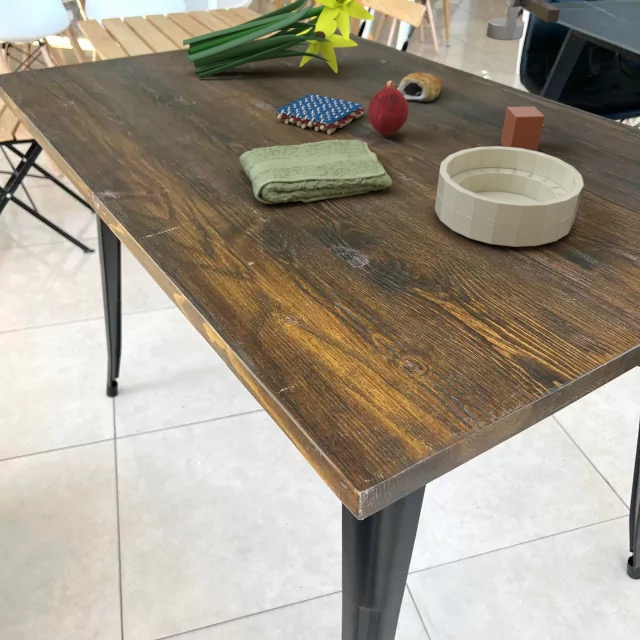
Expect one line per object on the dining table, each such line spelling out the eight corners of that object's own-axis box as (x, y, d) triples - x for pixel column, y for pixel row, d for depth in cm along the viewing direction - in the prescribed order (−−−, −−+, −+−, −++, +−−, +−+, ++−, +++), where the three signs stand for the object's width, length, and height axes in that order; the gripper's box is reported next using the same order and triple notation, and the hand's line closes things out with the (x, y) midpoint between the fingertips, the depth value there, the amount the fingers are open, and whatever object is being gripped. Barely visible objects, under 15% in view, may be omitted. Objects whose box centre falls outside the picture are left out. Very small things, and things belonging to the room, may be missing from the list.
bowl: (541, 185, 83) (551, 144, 79) (594, 248, 70) (608, 202, 67) (421, 190, 81) (426, 148, 78) (454, 254, 69) (461, 208, 66)
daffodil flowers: (201, 62, 129) (372, 10, 125) (211, 121, 124) (389, 69, 120) (167, -5, 114) (360, -67, 110) (176, 60, 108) (379, -3, 104)
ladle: (481, 32, 98) (488, -17, 94) (515, 31, 98) (523, -18, 94) (524, 67, 83) (534, 10, 79) (563, 65, 83) (575, 9, 79)
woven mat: (331, 136, 96) (331, 123, 94) (273, 122, 100) (273, 109, 99) (366, 116, 103) (367, 103, 101) (311, 103, 107) (310, 91, 106)
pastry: (414, 84, 116) (416, 61, 113) (450, 90, 113) (453, 67, 111) (393, 99, 109) (395, 75, 107) (430, 106, 107) (433, 82, 104)
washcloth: (396, 193, 81) (398, 168, 79) (257, 211, 77) (256, 186, 75) (361, 153, 91) (362, 130, 89) (237, 167, 87) (235, 144, 85)
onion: (408, 144, 93) (413, 87, 89) (368, 143, 93) (371, 87, 89) (403, 129, 98) (408, 75, 93) (365, 129, 98) (368, 75, 93)
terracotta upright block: (526, 142, 94) (534, 106, 91) (536, 153, 91) (544, 116, 88) (500, 143, 94) (506, 106, 91) (509, 154, 91) (516, 116, 88)
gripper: (467, -113, 77) (454, 13, 85) (633, -116, 78) (604, 8, 87) (453, -116, 82) (442, 3, 90) (609, -119, 83) (584, -1, 92)
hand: (523, 6), depth 88 cm, fingers closed on ladle
